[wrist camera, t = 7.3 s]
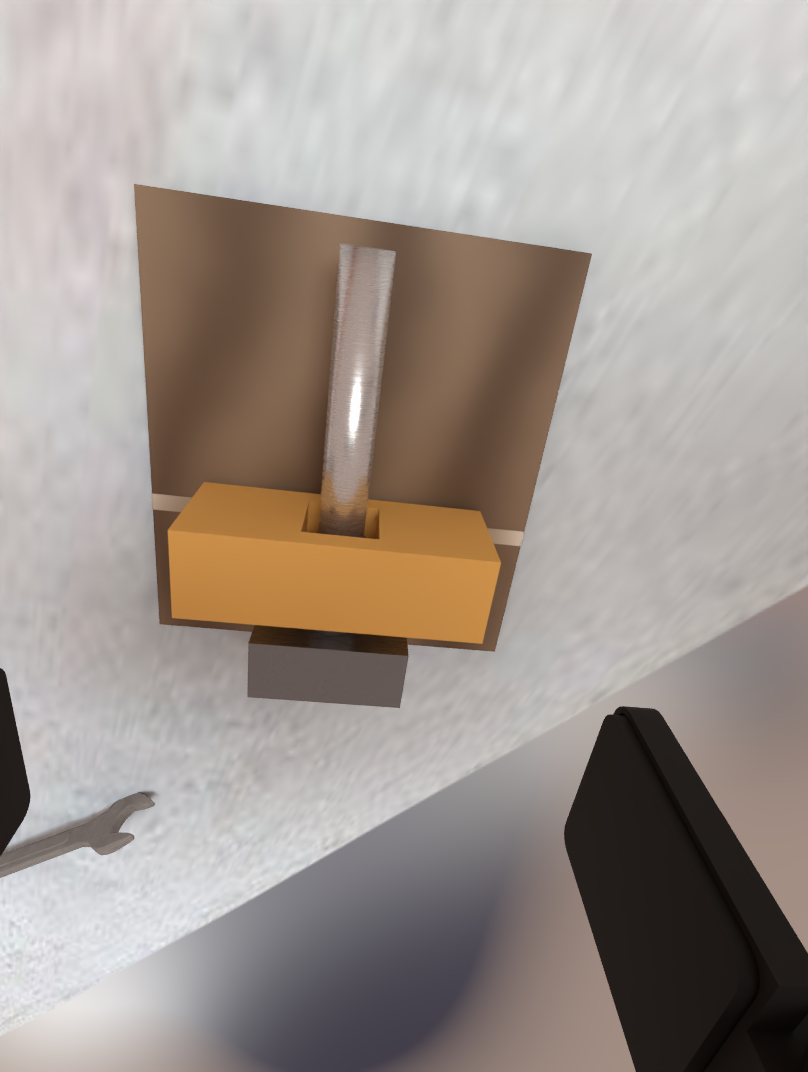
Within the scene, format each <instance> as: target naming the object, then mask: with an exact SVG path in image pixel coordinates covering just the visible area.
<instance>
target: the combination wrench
mask: <svg viewBox="0 0 808 1072" xmlns="http://www.w3.org/2000/svg"><path fill="white" fill-rule="evenodd" d="M154 805H155V803H154V802H153V801H152V800H151V799H150V798H148V797H147V796H146V795H144V794H142V793H140V792H138V793H135V794H133V795H130V796H128V797H125V798H123V799H120V800H119V801H117V802H116V803H115V804H114V805H113V806H112V807H111V808H110V809H109V810H108V811H106V812H105V813H103V814H102V815H100V816H99V817H97V818H96V819H94V820H92V821H91V822H89V823H87V824H84V825H82V826H79V827H76V828H73V829H71V830H68V831H65V832H63V833H60V834H57V835H54V836H52V837H49V838H46V839H44V840H41V841H38V842H35V843H33V844H30V845H27V846H24V847H22V848H19V849H16V850H14V851H11V852H8V853H5V854H3V855H1V856H0V878H1V877H4V876H7V875H9V874H12V873H15V872H17V871H20V870H23V869H25V868H28V867H31V866H33V865H36V864H39V863H41V862H44V861H46V860H49V859H52V858H54V857H57V856H60V855H62V854H65V853H68V852H70V851H73V850H76V849H78V848H81V847H92V848H93V849H94V850H95V851H96V852H97V853H98V854H100V855H107V854H110V853H113V852H115V851H117V850H118V849H120V848H122V847H123V846H125V845H127V844H128V843H130V842H131V841H132V840H134V836H133V835H132V834H130V833H118V831H119V829H120V828H121V826H122V825H123V823H124V822H125V820H126V819H127V818H128V817H129V816H130V815H131V814H132V813H133V812H134V811H137V810H143V809H147V808H151V807H153V806H154Z"/></svg>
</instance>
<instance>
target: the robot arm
mask: <svg viewBox="0 0 808 1072" xmlns="http://www.w3.org/2000/svg"><path fill="white" fill-rule="evenodd" d="M29 803H30V789H29V784H28V779H27V775H26V770H25V765H24V760H23V755H22V750H21V746H20V741H19V736H18V731H17V726H16V721H15V716H14V712H13V707H12V702H11V697H10V692H9V687H8V683H7V678H6V674H5V672H4V670H3V669H1V668H0V856H1V855H2V853H3V851H4V850H5V848H6V847H7V845H8V843H9V842H10V840H11V839H12V837H13V835H14V834H15V832H16V831H17V829H18V828H19V826H20V824H21V823H22V821H23V819H24V817H25V816H26V813H27V810H28V807H29ZM564 839H565V845H566V850H567V853H568V856H569V860H570V863H571V866H572V869H573V872H574V875H575V879H576V882H577V885H578V888H579V892H580V895H581V898H582V901H583V904H584V907H585V911H586V913H587V917H588V920H589V923H590V927H591V930H592V933H593V936H594V939H595V942H596V946H597V949H598V952H599V955H600V958H601V962H602V965H603V968H604V971H605V974H606V977H607V981H608V984H609V987H610V990H611V994H612V997H613V999H614V1003H615V1006H616V1009H617V1013H618V1016H619V1019H620V1022H621V1025H622V1029H623V1032H624V1035H625V1038H626V1041H627V1045H628V1048H629V1051H630V1054H631V1057H632V1060H633V1063H634V1067H635V1070H636V1072H808V953H807V952H806V950H805V948H804V947H803V945H802V943H801V942H800V940H799V938H798V937H797V935H796V933H795V932H794V930H793V928H792V927H791V925H790V924H789V922H788V920H787V919H786V917H785V915H784V914H783V912H782V911H781V909H780V907H779V906H778V904H777V902H776V901H775V899H774V898H773V896H772V894H771V893H770V891H769V889H768V888H767V886H766V884H765V883H764V881H763V879H762V878H761V877H760V875H759V873H758V871H757V870H756V868H755V867H754V865H753V863H752V861H751V860H750V858H749V857H748V855H747V853H746V852H745V850H744V848H743V847H742V845H741V843H740V842H739V840H738V839H737V837H736V835H735V834H734V832H733V830H732V829H731V827H730V825H729V824H728V822H727V821H726V819H725V817H724V816H723V814H722V813H721V811H720V810H719V808H718V807H717V805H716V803H715V802H714V800H713V798H712V797H711V795H710V793H709V792H708V790H707V788H706V787H705V785H704V784H703V782H702V780H701V779H700V777H699V775H698V774H697V772H696V771H695V769H694V767H693V766H692V764H691V762H690V761H689V759H688V757H687V756H686V754H685V752H684V751H683V749H682V747H681V746H680V744H679V743H678V741H677V740H676V738H675V736H674V734H673V733H672V731H671V729H670V728H669V726H668V725H667V723H666V721H665V720H664V718H663V717H662V715H661V714H660V713H659V712H658V711H657V710H655V709H650V708H637V707H624V706H623V707H619V708H617V709H616V710H615V713H614V714H613V715H607V716H606V717H605V719H604V721H603V723H602V726H601V729H600V731H599V734H598V737H597V740H596V742H595V746H594V748H593V751H592V753H591V756H590V759H589V761H588V764H587V767H586V770H585V772H584V775H583V778H582V780H581V783H580V786H579V789H578V792H577V794H576V797H575V800H574V802H573V805H572V808H571V810H570V813H569V816H568V818H567V821H566V825H565V830H564Z"/></svg>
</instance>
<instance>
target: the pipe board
mask: <svg viewBox="0 0 808 1072" xmlns="http://www.w3.org/2000/svg"><path fill="white" fill-rule="evenodd" d="M134 189H135V206H136V223H137V240H138V257H139V275H140V292H141V309H142V326H143V343H144V361H145V378H146V395H147V412H148V429H149V447H150V464H151V481H152V505H153V516H154V533H155V550H156V567H157V584H158V602H159V619H160V624H165V625H177V626H189V627H202V628H214V629H226V630H238V631H250V632H253V629H254V625H251V624H239V623H227V622H215V621H202V620H190V619H178V618H172V609H171V588H170V567H169V546H168V529H169V528H170V526H171V525H172V524H173V522H174V521H175V520H176V519H177V517H178V516H179V515H180V513H181V512H182V511H183V509H184V508H185V507H186V505H187V504H188V503H189V501H190V500H191V499H192V497H193V496H194V495H195V493H196V492H197V491H198V489H199V488H200V487H201V485H202V484H203V483H204V482H209V483H219V484H228V485H238V486H247V487H257V488H266V489H276V490H285V491H295V492H304V493H314V494H321V486H322V473H323V460H324V447H325V433H326V420H327V407H328V394H329V381H330V367H331V354H332V341H333V328H334V315H335V301H336V288H337V275H338V262H339V249H340V243H341V244H348V245H356V246H362V247H369V248H376V249H383V250H389V251H395V252H396V259H395V268H394V277H393V285H392V294H391V303H390V312H389V321H388V329H387V338H386V347H385V356H384V364H383V373H382V382H381V391H380V400H379V408H378V417H377V426H376V435H375V444H374V452H373V461H372V470H371V479H370V488H369V496H368V499H370V500H380V501H389V502H399V503H408V504H418V505H427V506H437V507H446V508H456V509H465V510H475V511H480V512H481V514H482V517H483V519H484V522H485V524H486V527H487V529H488V531H489V534H490V536H491V539H492V541H493V544H494V546H495V549H496V551H497V554H498V556H499V558H500V561H501V565H500V570H499V574H498V578H497V583H496V587H495V591H494V596H493V600H492V604H491V609H490V613H489V617H488V622H487V626H486V630H485V635H484V639H483V643H482V644H479V643H467V642H455V641H443V640H431V639H419V638H407V644H409V645H421V646H433V647H446V648H458V649H470V650H482V651H494V652H495V648H496V644H497V640H498V636H499V632H500V628H501V624H502V620H503V616H504V612H505V607H506V603H507V599H508V595H509V591H510V587H511V583H512V579H513V575H514V571H515V566H516V562H517V558H518V554H519V550H520V546H521V543H522V539H523V535H524V530H525V526H526V521H527V517H528V513H529V509H530V505H531V501H532V497H533V493H534V489H535V485H536V480H537V476H538V472H539V468H540V464H541V460H542V456H543V452H544V448H545V444H546V440H547V435H548V431H549V427H550V423H551V419H552V415H553V411H554V407H555V403H556V399H557V395H558V390H559V386H560V382H561V378H562V374H563V370H564V366H565V362H566V358H567V354H568V349H569V345H570V341H571V337H572V333H573V329H574V325H575V321H576V317H577V313H578V309H579V304H580V300H581V296H582V292H583V288H584V284H585V280H586V276H587V272H588V268H589V263H590V259H591V255H592V254H590V253H584V252H577V251H571V250H564V249H558V248H551V247H544V246H538V245H531V244H525V243H518V242H512V241H505V240H498V239H492V238H485V237H479V236H472V235H466V234H459V233H452V232H446V231H439V230H433V229H426V228H420V227H413V226H407V225H400V224H393V223H387V222H380V221H374V220H367V219H361V218H354V217H347V216H341V215H334V214H328V213H321V212H315V211H308V210H301V209H295V208H288V207H282V206H275V205H269V204H262V203H255V202H249V201H242V200H236V199H229V198H223V197H216V196H209V195H203V194H196V193H190V192H183V191H177V190H170V189H163V188H157V187H150V186H144V185H137V184H134Z"/></svg>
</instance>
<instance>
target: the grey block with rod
mask: <svg viewBox="0 0 808 1072" xmlns="http://www.w3.org/2000/svg"><path fill="white" fill-rule="evenodd" d="M395 259H396V252H395V251H389V250H383V249H376V248H369V247H362V246H356V245H348V244H341V243H340V249H339V262H338V275H337V288H336V301H335V315H334V328H333V341H332V354H331V367H330V381H329V394H328V407H327V420H326V433H325V447H324V460H323V473H322V486H321V499H320V513H319V526H318V532H316V533H319V534H329V535H339V536H349V537H359V538H366V537H365V536H364V532H365V523H366V514H367V505H368V496H369V488H370V479H371V470H372V461H373V452H374V444H375V435H376V426H377V417H378V408H379V400H380V391H381V382H382V373H383V364H384V356H385V347H386V338H387V329H388V321H389V312H390V303H391V294H392V285H393V277H394V268H395ZM407 661H408V646H407V637H395V636H383V635H371V634H359V633H347V632H335V631H323V630H311V629H299V628H287V627H275V626H263V625H254V629H253V632H252V635H251V638H250V641H249V652H248V697H255V698H269V699H283V700H297V701H311V702H325V703H339V704H353V705H367V706H381V707H395V708H400V703H401V697H402V691H403V685H404V679H405V673H406V667H407Z"/></svg>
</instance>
